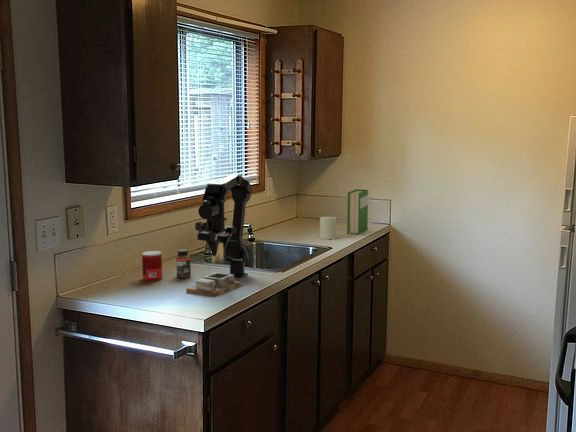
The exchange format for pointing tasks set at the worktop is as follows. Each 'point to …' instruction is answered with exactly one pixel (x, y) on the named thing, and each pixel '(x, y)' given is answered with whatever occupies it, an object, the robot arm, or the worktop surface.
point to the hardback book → (357, 211)
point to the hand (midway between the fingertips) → (217, 254)
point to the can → (328, 227)
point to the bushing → (219, 254)
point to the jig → (214, 284)
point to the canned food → (152, 265)
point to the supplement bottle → (183, 264)
